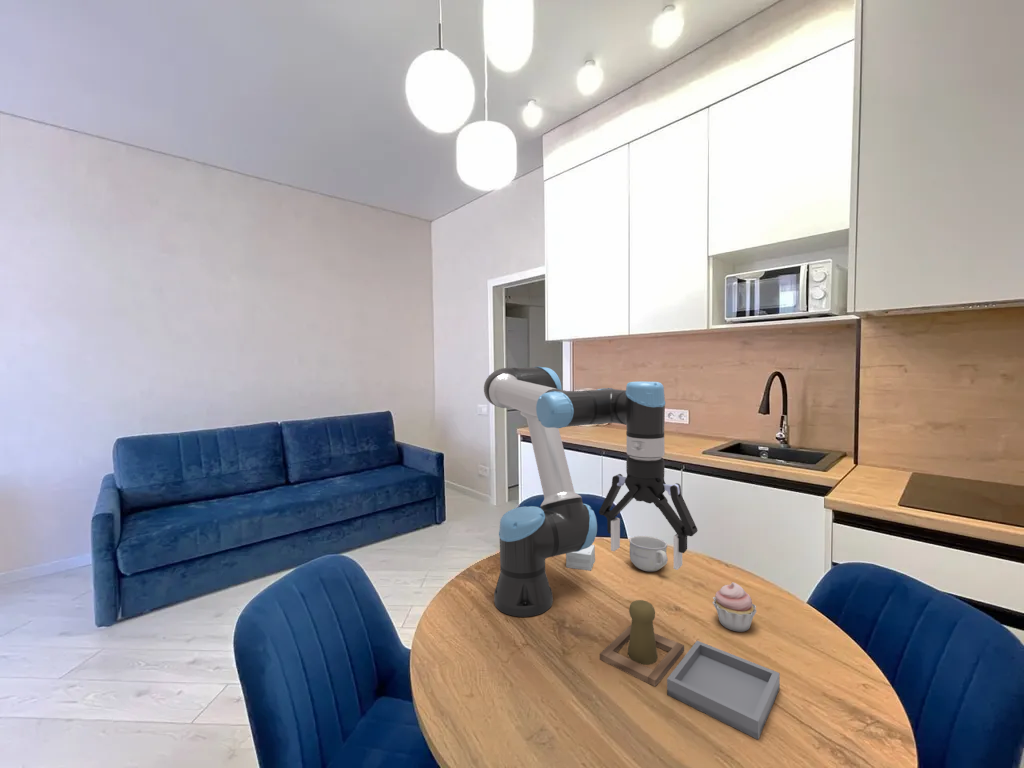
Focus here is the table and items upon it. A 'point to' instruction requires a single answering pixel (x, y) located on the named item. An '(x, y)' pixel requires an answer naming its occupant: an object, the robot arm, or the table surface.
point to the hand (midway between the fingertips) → (645, 557)
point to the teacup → (648, 552)
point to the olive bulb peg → (642, 633)
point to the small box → (581, 559)
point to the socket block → (639, 669)
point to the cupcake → (734, 607)
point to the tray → (725, 687)
